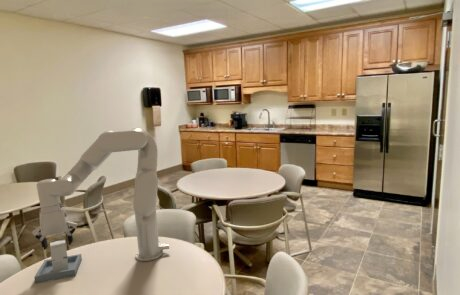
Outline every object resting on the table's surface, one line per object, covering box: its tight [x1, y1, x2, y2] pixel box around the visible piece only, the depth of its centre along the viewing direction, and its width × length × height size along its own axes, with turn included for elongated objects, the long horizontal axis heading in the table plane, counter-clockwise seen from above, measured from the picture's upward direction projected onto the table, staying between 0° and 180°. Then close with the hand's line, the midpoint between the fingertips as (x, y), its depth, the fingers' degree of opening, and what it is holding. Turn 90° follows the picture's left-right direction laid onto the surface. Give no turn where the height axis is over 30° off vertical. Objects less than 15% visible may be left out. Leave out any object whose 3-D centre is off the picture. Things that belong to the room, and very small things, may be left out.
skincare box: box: [49, 239, 68, 272], centre depth 130 cm, size 6×4×12 cm
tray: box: [33, 253, 83, 285], centre depth 131 cm, size 15×14×3 cm
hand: (58, 245), depth 130 cm, fingers open, 9 cm apart
